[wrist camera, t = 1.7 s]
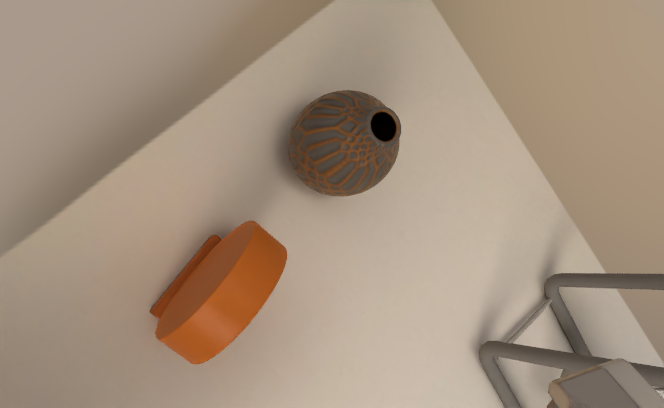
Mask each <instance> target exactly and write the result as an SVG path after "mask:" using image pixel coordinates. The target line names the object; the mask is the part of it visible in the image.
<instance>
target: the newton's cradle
mask: <svg viewBox="0 0 664 408" xmlns="http://www.w3.org/2000/svg"><path fill="white" fill-rule="evenodd" d="M559 287H588V288H620V289H652V290H664V274H585V273H561V274H555V275H553V276H551V277H550V278H548V279H547V282H546V284H545V294H546V296H547V301H546V302H545V303H544V304H543V305H542V306H541V307H540V308H539V309H538V310H537V311H536V312H535V313H534V314H533V315H532V316H531V317H530V318H529V319H528V320H527V321H526V322H525V323H524V324H523V325H522V326H521V327H520V328H519V329H518V330H517V332H516V333H515V334H514V335H513V336H512V337H511V338H510V339H509V340H508V341H507V342H506V343H505V342H499V341H488V342H486V343H484V344H483V345H482V346H481V348H480V351H479V357H480V361H481V364H482V366H483V368H484V370H485V372H486V373H487V375H488V377H489V379H490V381H491V382H492V384H493V386H494V388H495V389H496V391H497V393H498V395H499V397H500V398H501V400H502V402H503V404H504V406H505V407H506V408H521V406H520V404H519V403H518V401H517V399H516V397H515V395H514V393H513V392H512V390H511V388H510V386H509V384H508V383H507V381H506V379H505V377H504V375H503V373H502V372H501V370H500V368H499V366H498V364H497V363H496V360H497V359H498V358H499V357H503V358H508V359H514V360H519V361H524V362H529V363H534V364H539V365H545V366H550V367H555V368H560V369H564V370H563V371H562V374H561V378H562V377H564V376H567V375H570V374H573V373H576V372H578V371H581V370H584V369H587V368H590V367H592V366H597V365H600V364H603V363H606V362H608V361H611V360H612V359H606V358H600V357H593V356H592V355H591V353H590V351H589V350H588V348H587V346H586V344H585V342H584V340H583V338H582V336H581V334H580V332H579V330H578V328H577V326H576V324H575V322H574V321H573V319H572V317H571V315H570V313H569V311H568V309H567V307H566V305H565V303H564V301H563V299H562V297H561V295H560V293H559ZM549 304H550V305H551V307H552V309H553V310H554V312H555V314H556V316H557V318H558V320H559V322H560V324H561V326H562V328H563V330H564V332H565V333H566V335H567V337H568V339H569V341H570V343H571V345H572V347H573V349H574V351H575V353H576V354H574V353H568V352H562V351H555V350H549V349H543V348H537V347H530V346H524V345H518V344H512V343H513V342H514V341H515V340H516V339H517V338H518V337H519V336H520V335H521V334H522V333H523V332H524V330H525V329H526V328H527V327H528V326H529V325H530V324H531V323H532V322H533V321H534V320H535V319H536V318H537V317H538V316H539V315H540V314H541V313H542V312H543V311H544V310H545V309H546V307H547V306H548V305H549ZM629 363H630V364H631V365H632V366H633V367H634V368H635V369H636V370H637V371H638V373H639V374H640V375H641V376H642V377H643V378H644V379H645V380H646V381H647V382H648V383H649V384H650V385H651V386H654V387H659V388H654V389H655V390H663V391H664V368H663V367H656V366H650V365H644V364H637V363H631V362H629Z"/></svg>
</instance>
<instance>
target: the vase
mask: <svg viewBox="0 0 664 408" xmlns="http://www.w3.org/2000/svg"><path fill="white" fill-rule="evenodd" d="M400 134H401V124H400V120H399V118H398V116H397V115H396V114H395V112H394V111H392V110H391V109H389V108H387V107H386V106H385V105H384V104H383V103H382V102H380V101H379V100H378V99H376V98H374V97H373V96H371V95H369V94H366V93H363V92H359V91H349V90H347V91H336V92H332V93H328V94H325V95H323V96H321V97H319V98H318V99H316V100H314V101H313V102H312V103H310V104H309V105H308V106H307V107H306V108H305V109H304V110H303V111H302V112H301V113H300V114H299V116H298V117H297V119H296V120H295V122H294V124H293V126H292V129H291V132H290V136H289V143H288V149H289V157H290V161H291V164H292V166H293V168H294V170H295V172H296V174H297V175H298V176H299V178H300V179H301V180H302V181H303V182H304V183H305V184H306V185H308V186H309V187H310V188H312V189H314V190H316V191H318V192H320V193H323V194H326V195H331V196H350V195H355V194H359V193H361V192H364V191H366V190H368V189H370V188H372V187H374V186H375V185H376V184H378V183H379V182H380V181H381V180H382V179H383V178H384V177H385V176H386V175H387V174H388V172H389V171H390V170H391V168H392V166H393V165H394V163H395V160H396V158H397V155H398V150H399V137H400Z"/></svg>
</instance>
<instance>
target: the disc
mask: <svg viewBox="0 0 664 408" xmlns="http://www.w3.org/2000/svg"><path fill="white" fill-rule="evenodd" d="M286 260H287V250H286V248H285V247H284V246H283V245H282V244H281V243H279V242H278V241H277V240H276V239H275V238H274V237H273V236H271V235H270V234H269V233H268V232H267V231H266V230H264V229H263V228H262V227H261V226H260V225H259V224H257V223H256V222H255V221H252V220H251V221H247V222H245V223H243V224H241V225H240V226H238V227H237V228H235V229H234V230H233V231H232V232H230V233H229V234H228V235H227V236H226V237H225V238H223V239H220V238H219V237H218V236H217V235H213V236H210V238H209V239H208V240H207V241H206V243H205V244H204V245H203V246H202V247H201V249H200V250H199V251H198V252H197V254H196V255H195V256H194V257H193V258H192V260H191V261H190V262H189V263H188V265H187V266H186V267H185V268H184V270H183V271H182V272H181V273H180V274H179V276H178V277H177V278H176V279H175V281H174V282H173V283H172V284H171V285H170V287H169V288H168V289H167V290H166V292H165V293H164V294H163V295H162V297H161V298H160V299H159V300H158V301H157V303H156V304H155V305H154V306H153V308H152V309H151V310H150V313H152V314H153V315H154V316H156V317H157V318H158V319H160V320H159V323H158V325H157V328H156V332H155V335H156V337H157V339H158V340H160V341H161V342H163V343H164V344H165V345H167V346H168V347H169V348H171V349H172V350H173V351H175V352H176V353H178V354H179V355H180V356H182V357H183V358H184V359H186V360H187V361H189V362H190V363H192V364H201V363H204V362H206V361H208V360H209V359H211V358H212V357H214V356H215V355H217V354H218V353H219V352H221V351H222V350H223V349H224V348H225V347H227V346H228V345H229V344H230V343H231V342H232V341H233V340H234V339H235V338H236V337H237V336H238V335H239V334H240V333H241V332H242V331H243V330H244V328H245V327H246V326H247V325H248V324H249V323H250V322H251V320H252V319H253V318H254V317H255V315H256V314H257V313H258V311H259V310H260V309H261V308H262V306H263V305H264V303H265V302H266V300H267V299H268V297H269V296H270V294H271V293H272V291H273V289H274V288H275V286H276V284H277V282H278V280H279V278H280V276H281V274H282V272H283V270H284V267H285V264H286Z"/></svg>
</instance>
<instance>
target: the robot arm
mask: <svg viewBox="0 0 664 408" xmlns="http://www.w3.org/2000/svg"><path fill="white" fill-rule="evenodd" d="M548 393H549V395H550V396H551V397H552V401H551V402H550V403H549V404H548V406H547V408H664V399H663V398H662V397H661V396H660V395H659V394H658V393H657V392H656V390H655V389H654V388H653V387H652V386H651V385H650V384H649V383H648V382H647V381H646V380H645V379H644V378H643V377H642V376H641V375H640V374H639V373H638V371H637V370H636V369H635V368H634V367H633V366H632V365H631V364H630V363H629V362H628V361H626V360H624V359H614V360H611V361H608V362H606V363H603V364H600V365H597V366H592V367H590V368H587V369H584V370H581V371H578V372H576V373H573V374H570V375H567V376H564V377H562V378H559V379H556V380H553V381H552V382H551V383H550V384H549V389H548Z"/></svg>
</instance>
